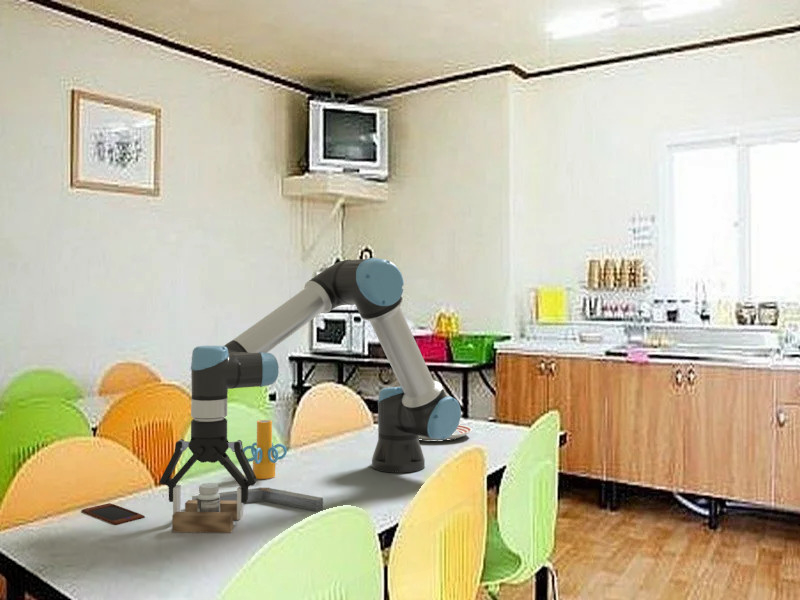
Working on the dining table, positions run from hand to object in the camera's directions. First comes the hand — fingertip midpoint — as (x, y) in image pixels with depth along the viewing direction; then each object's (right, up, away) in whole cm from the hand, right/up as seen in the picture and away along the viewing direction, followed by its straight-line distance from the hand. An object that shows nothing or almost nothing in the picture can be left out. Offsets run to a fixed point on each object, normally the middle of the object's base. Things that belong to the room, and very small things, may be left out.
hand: (208, 517), depth 158 cm
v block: (+8, -1, +15) cm, 17 cm away
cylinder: (+4, -1, +41) cm, 41 cm away
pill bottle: (0, -2, 0) cm, 2 cm away
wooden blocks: (0, -1, 0) cm, 1 cm away
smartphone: (-23, -2, +6) cm, 24 cm away
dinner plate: (+52, -2, +99) cm, 112 cm away
